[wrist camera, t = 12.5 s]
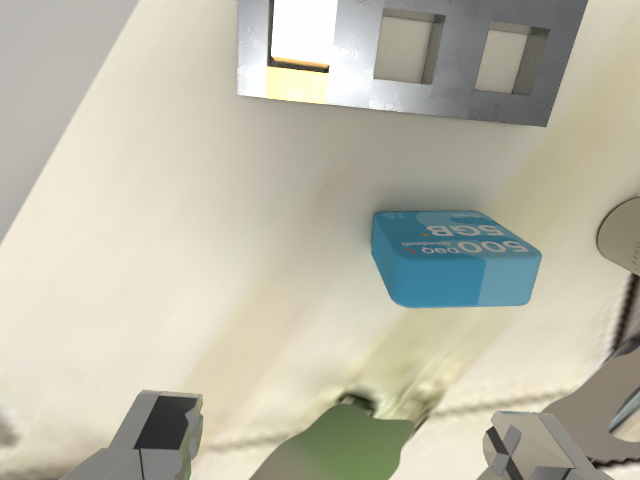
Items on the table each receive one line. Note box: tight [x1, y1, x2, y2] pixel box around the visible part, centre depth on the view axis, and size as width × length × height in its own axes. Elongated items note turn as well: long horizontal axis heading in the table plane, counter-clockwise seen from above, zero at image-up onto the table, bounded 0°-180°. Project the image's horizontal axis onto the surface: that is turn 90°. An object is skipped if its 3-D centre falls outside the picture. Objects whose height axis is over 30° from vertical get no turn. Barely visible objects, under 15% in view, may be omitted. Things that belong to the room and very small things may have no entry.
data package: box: [371, 211, 542, 308], centre depth 33 cm, size 12×4×12 cm, turn 90°
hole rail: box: [237, 0, 588, 127], centre depth 30 cm, size 28×10×3 cm, turn 84°
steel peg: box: [271, 0, 338, 72], centre depth 27 cm, size 4×4×9 cm
